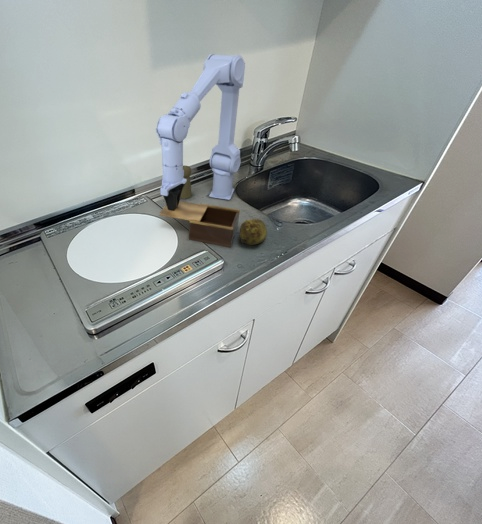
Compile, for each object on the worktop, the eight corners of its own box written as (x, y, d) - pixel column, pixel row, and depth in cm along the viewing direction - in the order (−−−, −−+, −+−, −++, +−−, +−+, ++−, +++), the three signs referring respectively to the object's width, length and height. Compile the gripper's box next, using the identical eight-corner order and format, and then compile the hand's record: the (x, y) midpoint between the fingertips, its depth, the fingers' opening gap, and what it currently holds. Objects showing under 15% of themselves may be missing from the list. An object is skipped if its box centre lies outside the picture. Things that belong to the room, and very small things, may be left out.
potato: (276, 238, 84) (283, 215, 79) (251, 256, 78) (256, 232, 73) (253, 227, 89) (258, 205, 84) (227, 243, 83) (230, 220, 77)
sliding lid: (170, 201, 91) (169, 188, 88) (207, 207, 87) (208, 193, 84) (159, 215, 84) (158, 201, 81) (199, 222, 80) (200, 208, 78)
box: (199, 221, 93) (200, 203, 88) (237, 227, 89) (240, 209, 85) (189, 239, 84) (189, 221, 80) (230, 247, 81) (233, 228, 77)
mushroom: (192, 191, 109) (193, 163, 102) (191, 198, 105) (192, 170, 98) (176, 191, 110) (176, 163, 103) (175, 198, 105) (175, 169, 98)
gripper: (177, 175, 71) (177, 221, 80) (194, 156, 81) (192, 198, 90) (152, 171, 73) (155, 217, 82) (171, 153, 83) (172, 195, 92)
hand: (173, 207), depth 86 cm, fingers open, 3 cm apart
